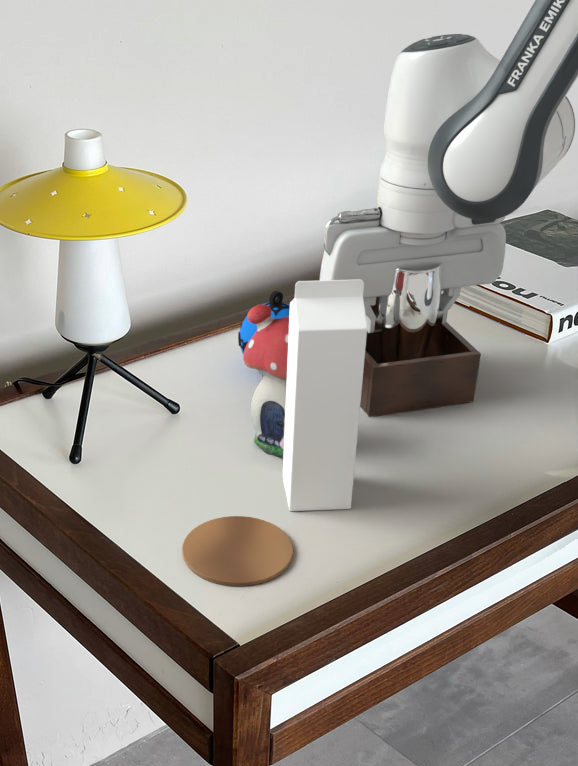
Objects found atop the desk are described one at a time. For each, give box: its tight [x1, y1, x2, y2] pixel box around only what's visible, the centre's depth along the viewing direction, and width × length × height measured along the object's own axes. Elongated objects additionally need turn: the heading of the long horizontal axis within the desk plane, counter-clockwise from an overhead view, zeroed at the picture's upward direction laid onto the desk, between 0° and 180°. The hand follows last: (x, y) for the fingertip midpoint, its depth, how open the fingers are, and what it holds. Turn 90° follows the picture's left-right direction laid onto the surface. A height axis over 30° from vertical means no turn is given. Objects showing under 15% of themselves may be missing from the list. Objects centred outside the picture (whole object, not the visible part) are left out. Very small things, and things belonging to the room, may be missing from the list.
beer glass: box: [376, 263, 443, 364], centre depth 113 cm, size 7×7×15 cm
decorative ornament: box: [242, 303, 289, 459], centre depth 103 cm, size 9×6×15 cm
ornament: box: [237, 290, 290, 355], centre depth 118 cm, size 9×9×10 cm
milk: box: [282, 279, 367, 512], centre depth 93 cm, size 6×6×22 cm
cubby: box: [360, 297, 482, 417], centre depth 114 cm, size 13×13×14 cm
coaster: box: [181, 515, 294, 587], centre depth 92 cm, size 10×10×1 cm
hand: (405, 326), depth 114 cm, fingers closed on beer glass, 6 cm apart
